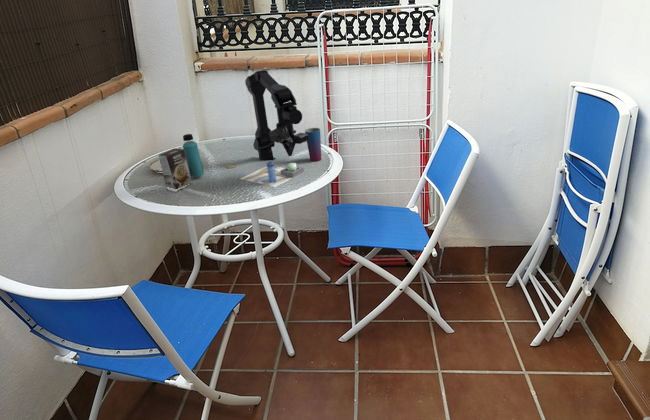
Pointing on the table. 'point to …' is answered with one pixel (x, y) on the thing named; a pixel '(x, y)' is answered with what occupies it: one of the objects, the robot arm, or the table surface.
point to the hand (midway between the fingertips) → (290, 155)
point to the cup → (314, 144)
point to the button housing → (292, 174)
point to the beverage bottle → (192, 156)
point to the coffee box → (175, 168)
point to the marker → (271, 172)
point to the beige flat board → (267, 177)
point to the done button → (291, 167)
